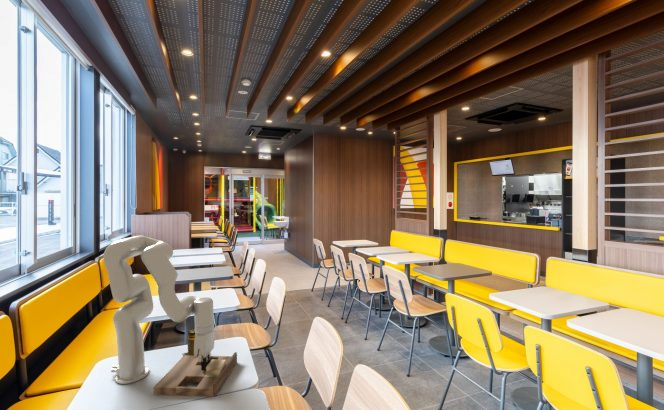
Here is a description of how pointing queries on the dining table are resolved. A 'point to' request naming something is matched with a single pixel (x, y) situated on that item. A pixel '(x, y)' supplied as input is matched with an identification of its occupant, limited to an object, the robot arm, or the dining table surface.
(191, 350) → the condiment
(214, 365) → the maple block
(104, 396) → the dining table surface
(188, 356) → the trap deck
